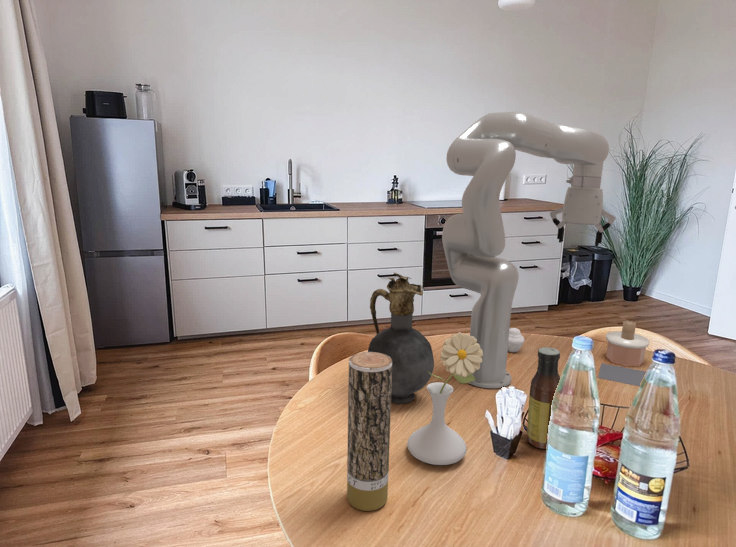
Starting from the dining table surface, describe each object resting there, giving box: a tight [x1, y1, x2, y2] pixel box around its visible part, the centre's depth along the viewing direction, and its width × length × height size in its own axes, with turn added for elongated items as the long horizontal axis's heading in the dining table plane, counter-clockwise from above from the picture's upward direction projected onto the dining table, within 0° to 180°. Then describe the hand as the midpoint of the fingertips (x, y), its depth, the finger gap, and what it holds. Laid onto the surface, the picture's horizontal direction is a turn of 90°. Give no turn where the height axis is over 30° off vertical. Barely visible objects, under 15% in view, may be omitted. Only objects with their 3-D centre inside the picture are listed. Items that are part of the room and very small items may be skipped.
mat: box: [597, 362, 647, 387], centre depth 139 cm, size 11×11×1 cm
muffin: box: [507, 327, 525, 353], centre depth 154 cm, size 6×6×7 cm
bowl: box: [605, 341, 647, 367], centre depth 148 cm, size 9×9×6 cm
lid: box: [605, 320, 650, 349], centre depth 147 cm, size 11×11×6 cm
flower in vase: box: [406, 331, 483, 466], centre depth 99 cm, size 13×11×25 cm
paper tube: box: [346, 351, 392, 512], centre depth 85 cm, size 7×7×25 cm
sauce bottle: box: [526, 346, 561, 450], centre depth 104 cm, size 6×6×20 cm
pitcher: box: [367, 271, 435, 405], centre depth 123 cm, size 11×19×30 cm, turn 37°
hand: (578, 243), depth 151 cm, fingers open, 9 cm apart
